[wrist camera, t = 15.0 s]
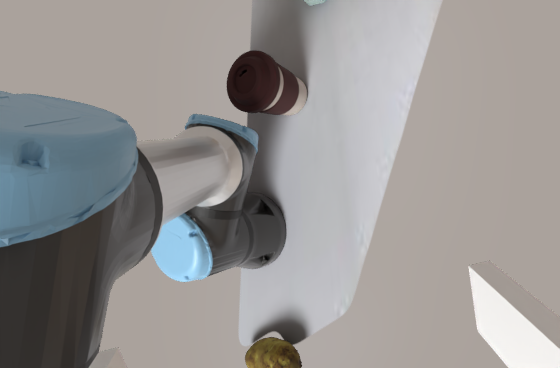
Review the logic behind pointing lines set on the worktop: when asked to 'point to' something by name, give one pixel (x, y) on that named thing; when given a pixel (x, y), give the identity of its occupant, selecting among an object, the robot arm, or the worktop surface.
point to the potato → (272, 354)
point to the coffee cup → (264, 86)
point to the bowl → (314, 2)
